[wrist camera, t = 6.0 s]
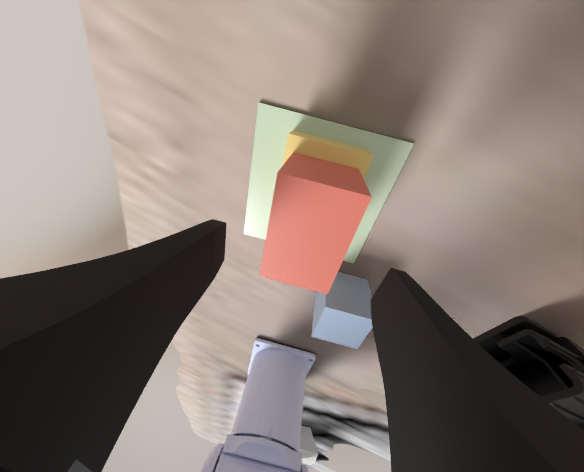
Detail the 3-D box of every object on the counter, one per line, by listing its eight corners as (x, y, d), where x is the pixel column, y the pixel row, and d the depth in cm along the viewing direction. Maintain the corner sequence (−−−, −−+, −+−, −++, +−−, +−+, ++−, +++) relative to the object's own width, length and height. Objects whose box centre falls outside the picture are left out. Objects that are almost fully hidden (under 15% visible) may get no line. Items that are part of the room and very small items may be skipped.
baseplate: (353, 262, 19) (353, 263, 18) (244, 232, 19) (243, 233, 19) (412, 143, 13) (414, 143, 13) (259, 102, 13) (258, 102, 13)
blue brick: (352, 306, 22) (357, 349, 18) (314, 296, 22) (311, 336, 18) (368, 279, 20) (377, 320, 16) (326, 267, 20) (325, 306, 16)
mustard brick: (329, 247, 18) (329, 261, 16) (272, 231, 18) (267, 244, 16) (368, 149, 14) (373, 156, 12) (293, 130, 14) (288, 133, 12)
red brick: (328, 248, 16) (327, 294, 12) (276, 234, 16) (259, 275, 12) (358, 169, 12) (372, 196, 9) (293, 151, 12) (277, 172, 9)
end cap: (481, 381, 25) (527, 463, 19) (434, 357, 24) (466, 436, 18) (581, 342, 20) (684, 439, 14) (524, 310, 19) (610, 400, 13)
